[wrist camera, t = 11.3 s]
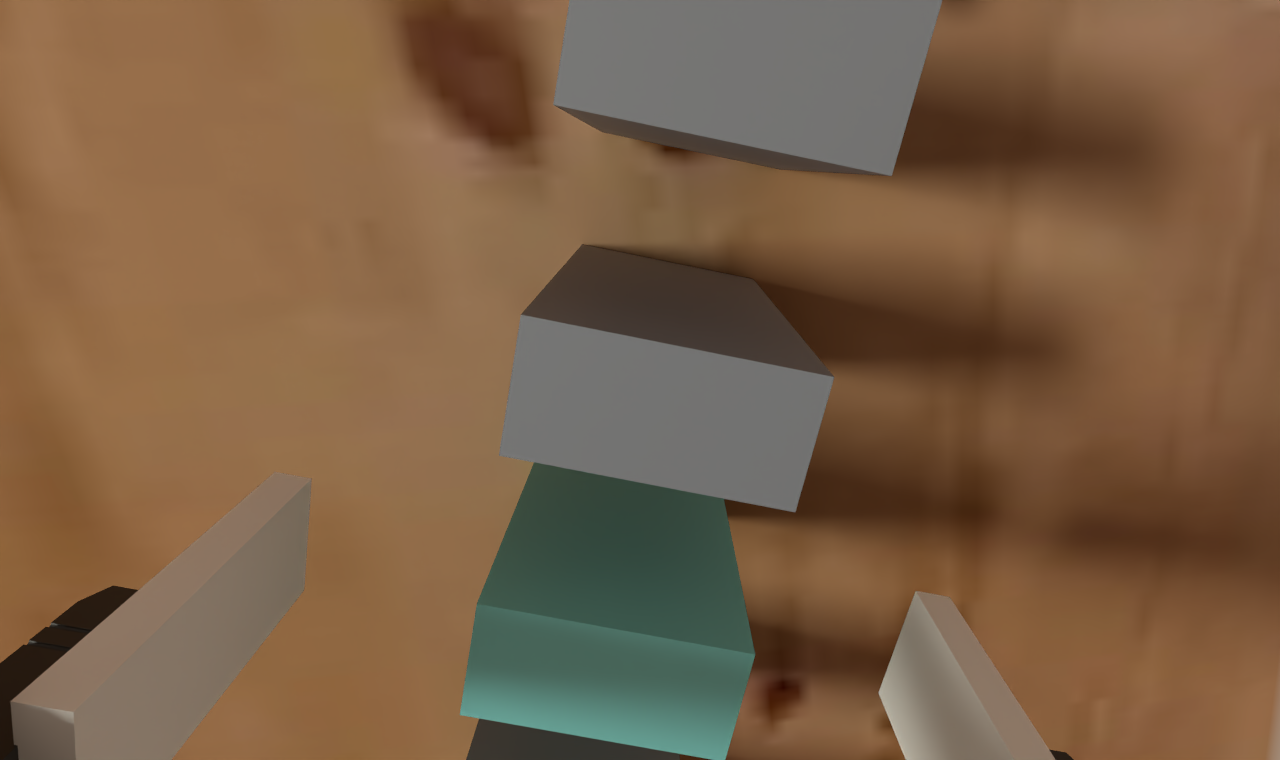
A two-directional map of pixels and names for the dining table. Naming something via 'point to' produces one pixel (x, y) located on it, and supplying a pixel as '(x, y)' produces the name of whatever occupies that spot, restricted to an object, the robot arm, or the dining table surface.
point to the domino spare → (613, 617)
